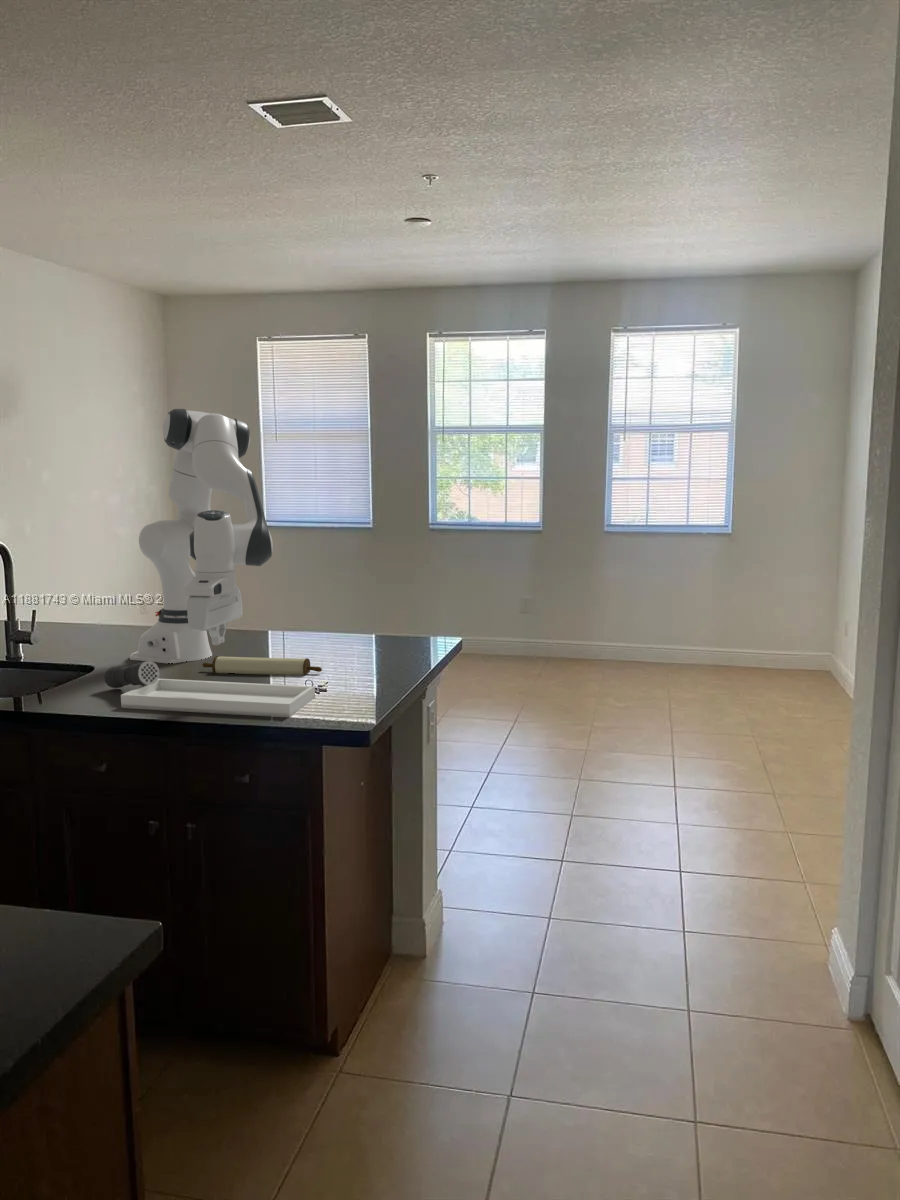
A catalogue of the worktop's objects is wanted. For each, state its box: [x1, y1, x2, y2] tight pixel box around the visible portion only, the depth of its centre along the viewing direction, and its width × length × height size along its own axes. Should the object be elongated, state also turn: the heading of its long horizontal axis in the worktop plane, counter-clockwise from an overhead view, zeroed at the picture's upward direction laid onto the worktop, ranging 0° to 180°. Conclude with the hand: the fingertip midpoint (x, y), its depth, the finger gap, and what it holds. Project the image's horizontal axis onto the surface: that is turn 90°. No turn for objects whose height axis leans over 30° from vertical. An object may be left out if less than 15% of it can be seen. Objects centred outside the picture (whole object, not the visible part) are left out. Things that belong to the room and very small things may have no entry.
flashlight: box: [103, 661, 160, 689], centre depth 208 cm, size 15×5×5 cm
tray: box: [120, 678, 316, 718], centre depth 200 cm, size 40×16×3 cm, turn 79°
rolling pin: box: [202, 655, 323, 676], centre depth 228 cm, size 32×6×5 cm, turn 83°
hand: (218, 644), depth 198 cm, fingers closed
